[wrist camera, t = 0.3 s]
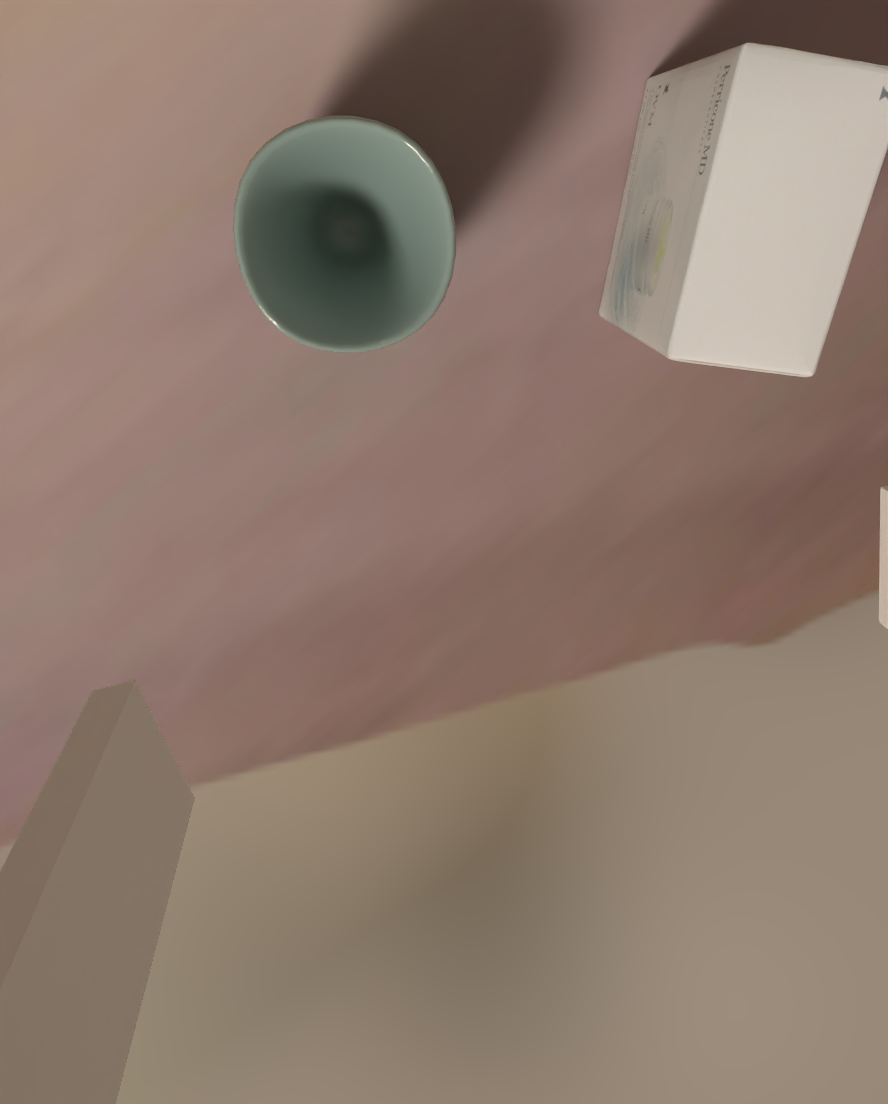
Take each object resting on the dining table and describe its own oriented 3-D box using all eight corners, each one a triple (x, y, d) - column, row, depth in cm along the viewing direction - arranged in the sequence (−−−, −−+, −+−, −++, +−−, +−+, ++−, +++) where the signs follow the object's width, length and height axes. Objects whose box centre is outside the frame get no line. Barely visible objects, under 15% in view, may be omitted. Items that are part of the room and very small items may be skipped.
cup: (424, 122, 35) (448, 101, 26) (441, 305, 38) (467, 343, 29) (246, 139, 34) (207, 124, 25) (278, 322, 38) (254, 367, 29)
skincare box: (639, 74, 35) (744, 34, 25) (774, 97, 36) (925, 67, 26) (590, 318, 39) (665, 362, 30) (712, 333, 40) (823, 380, 31)
